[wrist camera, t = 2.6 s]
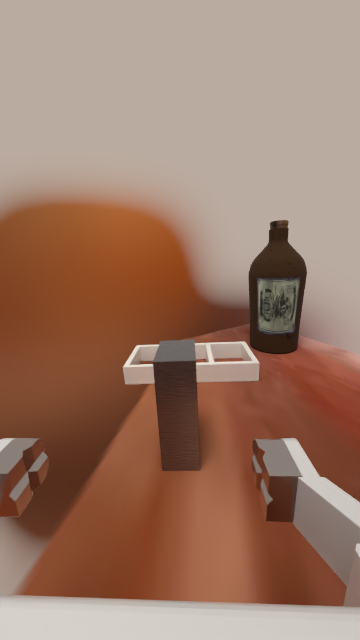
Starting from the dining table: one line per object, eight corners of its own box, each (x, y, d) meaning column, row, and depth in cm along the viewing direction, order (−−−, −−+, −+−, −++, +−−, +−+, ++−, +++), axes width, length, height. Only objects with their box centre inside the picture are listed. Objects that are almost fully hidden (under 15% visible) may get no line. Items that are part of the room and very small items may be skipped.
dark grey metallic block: (198, 431, 26) (194, 339, 23) (200, 470, 21) (195, 360, 18) (167, 431, 26) (160, 341, 23) (162, 470, 21) (152, 361, 19)
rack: (244, 355, 45) (244, 341, 45) (258, 380, 36) (259, 363, 35) (138, 358, 46) (136, 344, 46) (125, 384, 37) (123, 367, 36)
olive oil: (247, 336, 56) (250, 227, 50) (295, 338, 53) (304, 222, 47) (246, 353, 46) (249, 220, 40) (305, 357, 43) (318, 213, 37)
